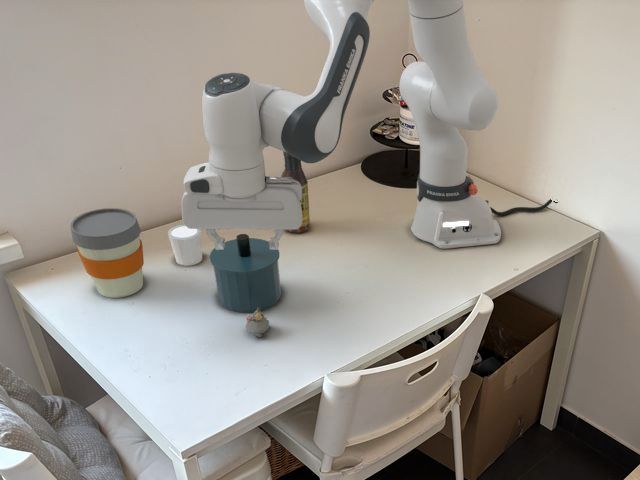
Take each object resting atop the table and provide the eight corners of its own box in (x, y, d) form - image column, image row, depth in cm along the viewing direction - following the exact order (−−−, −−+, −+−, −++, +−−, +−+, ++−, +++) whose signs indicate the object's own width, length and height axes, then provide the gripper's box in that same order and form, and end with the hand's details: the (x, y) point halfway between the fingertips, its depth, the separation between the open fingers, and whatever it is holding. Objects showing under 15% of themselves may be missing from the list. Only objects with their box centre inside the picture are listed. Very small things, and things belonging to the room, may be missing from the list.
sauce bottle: (305, 235, 171) (300, 157, 159) (280, 232, 171) (273, 153, 159) (313, 223, 176) (309, 146, 164) (289, 220, 176) (283, 143, 164)
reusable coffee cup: (165, 283, 151) (151, 219, 142) (114, 309, 142) (96, 243, 133) (126, 264, 156) (110, 201, 146) (74, 288, 147) (54, 223, 138)
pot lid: (282, 242, 150) (280, 220, 147) (276, 276, 139) (274, 254, 136) (215, 242, 148) (212, 220, 145) (205, 276, 137) (201, 254, 134)
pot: (283, 279, 155) (279, 241, 149) (278, 312, 145) (274, 272, 139) (223, 279, 153) (217, 241, 147) (214, 312, 143) (208, 272, 138)
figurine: (260, 342, 137) (256, 316, 133) (240, 335, 138) (237, 310, 134) (275, 328, 141) (272, 303, 137) (256, 322, 142) (253, 297, 138)
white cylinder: (211, 257, 160) (207, 230, 156) (188, 270, 155) (183, 242, 151) (189, 248, 163) (184, 221, 158) (166, 260, 158) (160, 232, 154)
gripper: (302, 169, 123) (306, 240, 132) (180, 167, 121) (192, 239, 129) (300, 185, 118) (305, 257, 127) (172, 183, 116) (186, 257, 124)
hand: (247, 248), depth 128 cm, fingers open, 8 cm apart
